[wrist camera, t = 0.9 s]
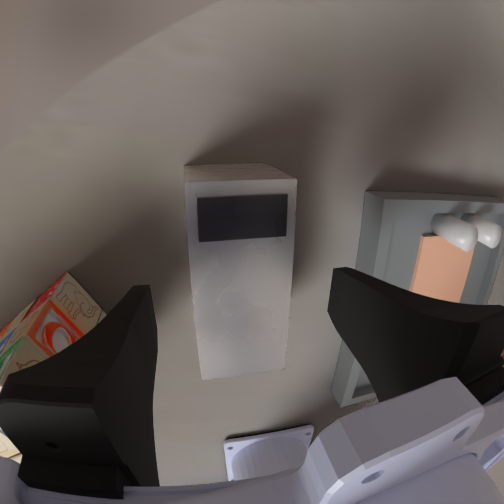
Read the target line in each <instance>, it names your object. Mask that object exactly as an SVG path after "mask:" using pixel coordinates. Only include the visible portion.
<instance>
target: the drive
mask: <svg viewBox="0 0 504 504" xmlns="http://www.w3.org/2000/svg"><path fill="white" fill-rule="evenodd" d="M184 188H185V208H186V225H187V240H188V253H189V266H190V278H191V289H192V299H193V309H194V319H195V328H196V337H197V345H198V353H199V361H200V369H201V376H202V380H206V379H216V378H225V377H233V376H241V375H249V374H256V373H262V372H269V371H275V370H281V369H284V368H285V358H286V347H287V336H288V324H289V312H290V299H291V285H292V270H293V255H294V238H295V219H296V198H297V179H296V178H294V177H292V176H290V175H288V174H286V173H284V172H282V171H280V170H278V169H276V168H274V167H272V166H270V165H267V164H265V163H237V164H210V165H191V166H184Z"/></svg>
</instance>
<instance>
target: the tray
mask: <svg viewBox="0 0 504 504" xmlns="http://www.w3.org/2000/svg"><path fill="white" fill-rule="evenodd" d="M503 250H504V200H502V199H499V198H497V197H488V196H475V195H460V194H442V193H421V192H390V191H365V197H364V207H363V216H362V225H361V233H360V241H359V248H358V255H357V262H356V269H355V270H358V271H360V272H363V273H366V274H368V275H370V276H373V277H375V278H378V279H380V280H382V281H385V282H387V283H390V284H392V285H395V286H397V287H400V288H403V289H405V290H408V291H411V292H414V293H417V294H421V295H424V296H428V297H431V298H436V299H440V300H445V301H450V302H456V303H464V304H475V305H487V302H488V299H489V297H490V294H491V291H492V288H493V284H494V281H495V278H496V275H497V271H498V268H499V265H500V261H501V257H502V254H503ZM331 392H332V394H333V396H334V397H335V399H336V401H337V403H338V405H339V406H340V408H342V407H345V406H349V405H352V404H356V403H359V402H363V401H366V400H369V399H372V398H376V397H377V396H376V394H375V391H374V389H373V387H372V385H371V383H370V381H369V379H368V377H367V375H366V374H365V372H364V370H363V369H362V367H361V365H360V364H359V363H358V361H357V360H356V358H355V357H354V355H353V354H352V352H351V351H350V349H349V348H348V346H347V345H346V344H345V342H344V341H343V340H342V345H341V349H340V354H339V358H338V363H337V367H336V371H335V376H334V380H333V384H332V388H331Z"/></svg>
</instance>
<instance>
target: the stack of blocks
mask: <svg viewBox="0 0 504 504" xmlns="http://www.w3.org/2000/svg"><path fill="white" fill-rule="evenodd" d="M106 315H107V314H106V313H105V312H104V311H102V310H101V308H100V306H99V305H98V304H97V303H96V302H95V301H94V300H93V299H92V298H91V297H90V295H89V294H88V293H87V292H86V291H85V290H84V289H83V288H82V287H81V286H80V284H79V283H78V282H77V281H76V280H75V279H74V278H73V277H72V276H71V275H70V274H69V273H67V272H66V273H65V274H64V275H63V276H62V277H61V278H60V279H59V280H57V281H56V282H55V283H54V284H53V285H52V286H51V287H50V288H49V289H48V290H46V291H45V292H44V293H43V294H42V295H41V296H40V297H39V298H38V299H35V300H34V301H32V302H31V303H30V304H29V305H28V306H27V307H26V308H25V309H24V310H23V311H22V312H21V313H20V314H19V315H18V316H17V317H16V318H15V319H14V320H13V321H11V322H10V323H9V324H8V325H7V326H6V327H5V328H4V329H3V330H2V331H1V332H0V391H1V389H2V387H3V385H4V382H5V380H6V378H7V376H8V374H11V373H14V372H16V371H19V370H22V369H24V368H27V367H30V366H32V365H35V364H37V363H39V362H41V361H43V360H45V359H47V358H49V357H51V356H53V355H55V354H57V353H58V352H60V351H62V350H63V349H65V348H66V347H68V346H69V345H71V344H73V343H74V342H76V341H77V340H79V339H80V338H81V337H83V336H84V335H85V334H86V333H88V332H89V331H90V330H91V329H93V328H94V327H95V326H96V325H97V324H98V323H99V322H100V321H101V320H102V319H103V318H104V317H105V316H106ZM0 456H2V457H6V458H9V459H12V460H14V461H16V462H18V463H19V464H20V463H21V459H22V454H21V453H20V452H19V450H18V449H17V448H16V447H15V446H14V445H13V443H12V442H11V441H10V440H9V438H8V437H7V436H6V435H5V433H4V432H3V431H2V429H1V428H0Z"/></svg>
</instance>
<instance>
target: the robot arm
mask: <svg viewBox="0 0 504 504" xmlns="http://www.w3.org/2000/svg"><path fill="white" fill-rule="evenodd" d="M327 311H328V313H329V316H330V318H331V320H332V322H333V324H334V326H335V328H336V330H337V332H338V333H339V335H340V336H341V338H342V339H343V341H344V342H345V344H346V345H347V346H348V348H349V349H350V351H351V352H352V354H353V355H354V357H355V358H356V360H357V361H358V363H359V364H360V365H361V367H362V369H363V370H364V372H365V374H366V375H367V377H368V379H369V381H370V383H371V385H372V387H373V389H374V391H375V394H376V396H377V398H378V400H379V403H377V404H374V405H371V406H367V407H364V408H361V409H359V410H356V411H354V412H352V413H350V414H347V415H345V416H343V417H340V418H338V419H337V420H336V421H334V422H333V423H332V424H330V425H329V426H327V427H326V428H325V429H323V430H322V431H320V433H319V434H318V436H317V437H316V438H315V440H314V441H313V443H312V444H311V446H310V442H311V439H312V435H313V431H314V427H313V426H312V425H306V426H301V427H297V428H292V429H287V430H282V431H277V432H272V433H266V434H261V435H255V436H248V437H242V438H234V439H228V440H225V441H224V451H225V459H226V467H227V475H228V482H219V483H210V484H199V485H185V486H161V487H160V485H159V478H158V471H157V462H156V453H155V442H154V428H153V391H154V381H155V371H156V362H157V352H158V342H157V325H156V320H155V314H154V309H153V303H152V297H151V290H150V285H139V286H133V287H132V288H131V289H130V290H129V292H128V293H127V294H126V295H125V296H124V297H123V298H122V300H121V301H120V302H119V303H118V304H117V305H116V306H115V307H114V308H113V309H112V310H111V311H110V312H109V313H108V314H107V315H106V316H105V317H104V318H103V319H102V320H101V321H100V322H99V323H98V324H97V325H96V326H95V327H94V328H93V329H91V330H90V331H89V332H88V333H86V334H85V335H84V336H83V337H81V338H80V339H79V340H77V341H76V342H74V343H73V344H71V345H69V346H68V347H66V348H65V349H63V350H62V351H60V352H58V353H57V354H55V355H53V356H51V357H49V358H47V359H45V360H43V361H41V362H39V363H37V364H35V365H32V366H30V367H27V368H24V369H22V370H19V371H16V372H14V373H11V374H8V376H7V378H6V380H5V382H4V385H3V387H2V389H1V391H0V428H1V429H2V431H3V432H4V433H5V435H6V436H7V437H8V438H9V440H10V441H11V442H12V443H13V445H14V446H15V447H16V448H17V449H18V450H19V452H20V453H21V454H22V459H21V463H20V464H19V463H18V462H16V461H14V460H12V459H9V458H6V457H2V456H0V504H504V495H503V494H502V493H501V491H500V490H499V488H498V487H497V486H496V484H495V483H494V481H493V480H492V479H491V477H490V476H489V475H488V473H487V472H486V470H487V469H489V468H490V467H491V466H492V465H493V464H495V463H496V462H497V461H498V460H499V459H500V458H502V457H503V456H504V367H503V365H504V359H503V358H502V357H501V354H502V352H503V350H504V306H501V305H475V304H464V303H456V302H450V301H445V300H440V299H436V298H431V297H428V296H424V295H421V294H417V293H414V292H411V291H408V290H405V289H403V288H400V287H397V286H395V285H392V284H390V283H387V282H385V281H382V280H380V279H378V278H375V277H373V276H370V275H368V274H366V273H363V272H360V271H358V270H355V269H352V268H348V267H343V268H333V275H332V283H331V290H330V297H329V304H328V310H327ZM309 446H310V447H309Z"/></svg>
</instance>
